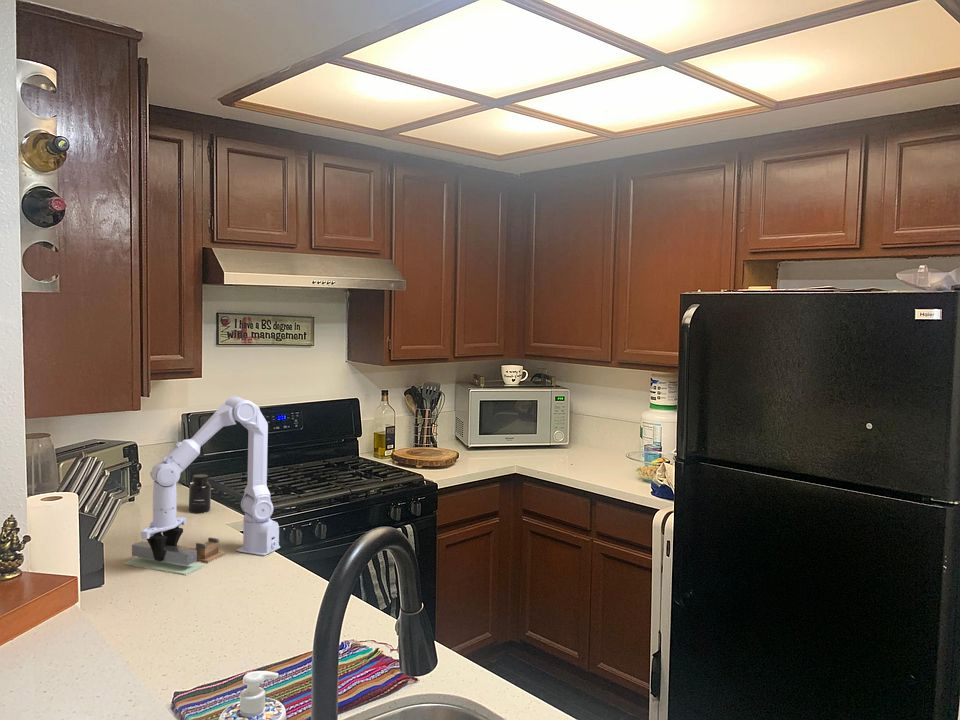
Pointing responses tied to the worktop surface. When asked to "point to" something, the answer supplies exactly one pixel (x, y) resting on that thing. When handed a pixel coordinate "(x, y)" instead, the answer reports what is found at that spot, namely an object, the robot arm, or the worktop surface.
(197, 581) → the worktop surface
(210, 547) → the wooden stand
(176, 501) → the robot arm
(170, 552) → the steel rail
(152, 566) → the rubber mat
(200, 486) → the supplement bottle
